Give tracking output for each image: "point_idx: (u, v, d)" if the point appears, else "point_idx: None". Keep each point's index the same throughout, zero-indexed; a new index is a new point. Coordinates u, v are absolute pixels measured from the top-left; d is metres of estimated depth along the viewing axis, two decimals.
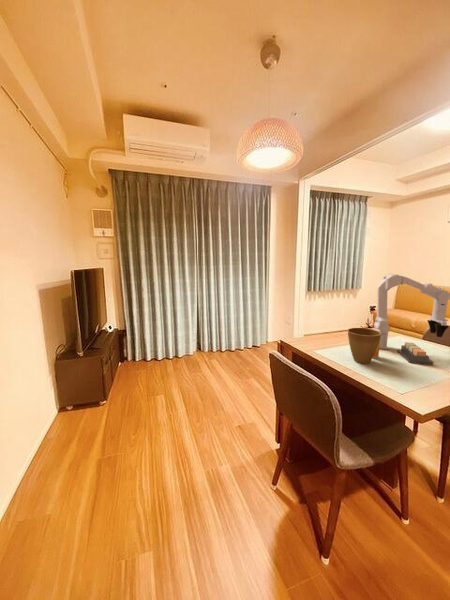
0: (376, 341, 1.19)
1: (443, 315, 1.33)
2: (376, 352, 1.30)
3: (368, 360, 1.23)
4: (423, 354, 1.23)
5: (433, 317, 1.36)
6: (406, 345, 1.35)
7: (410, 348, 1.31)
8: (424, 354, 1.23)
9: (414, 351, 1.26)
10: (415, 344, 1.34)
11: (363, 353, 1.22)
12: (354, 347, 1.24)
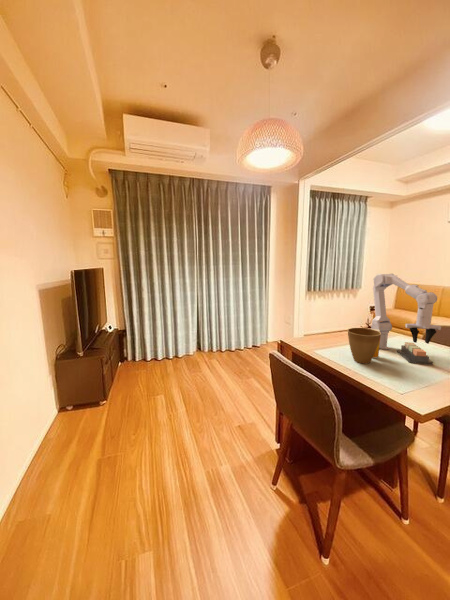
0: (376, 341, 1.19)
1: (418, 320, 1.22)
2: (376, 352, 1.30)
3: (368, 360, 1.23)
4: (423, 354, 1.23)
5: None
6: (406, 345, 1.35)
7: (410, 348, 1.31)
8: (424, 354, 1.23)
9: (414, 351, 1.26)
10: (415, 344, 1.34)
11: (363, 353, 1.22)
12: (354, 347, 1.24)
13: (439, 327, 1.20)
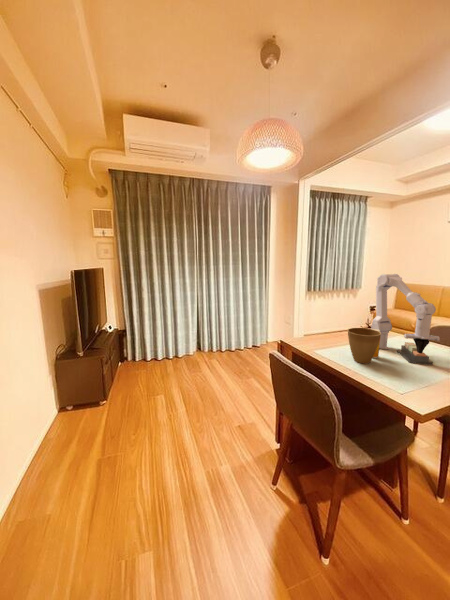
0: (376, 341, 1.19)
1: (417, 330, 1.23)
2: (376, 352, 1.30)
3: (368, 360, 1.23)
4: None
5: None
6: (406, 345, 1.35)
7: (410, 348, 1.31)
8: None
9: (414, 353, 1.26)
10: (415, 344, 1.34)
11: (363, 353, 1.22)
12: (354, 347, 1.24)
13: (437, 338, 1.21)
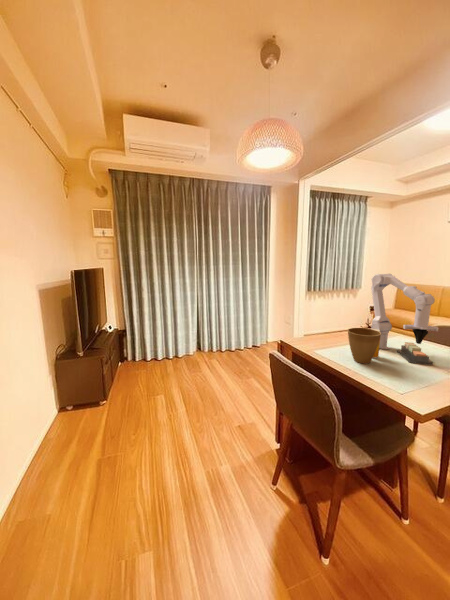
0: (376, 341, 1.19)
1: (416, 321, 1.24)
2: (376, 352, 1.30)
3: (368, 360, 1.23)
4: None
5: None
6: (406, 345, 1.35)
7: (410, 348, 1.31)
8: None
9: (414, 353, 1.26)
10: (415, 344, 1.34)
11: (363, 353, 1.22)
12: (354, 347, 1.24)
13: (436, 328, 1.22)
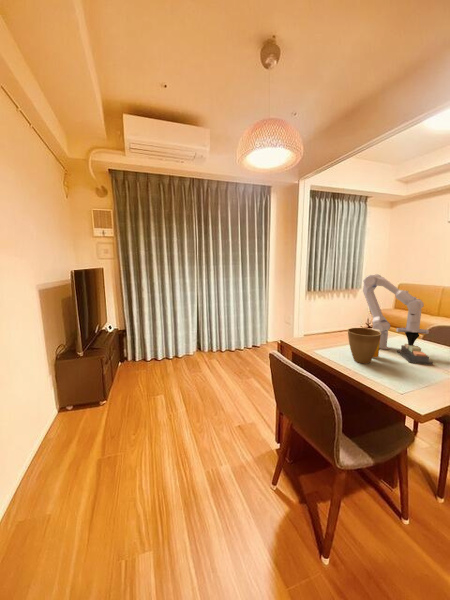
0: (376, 341, 1.19)
1: (408, 324, 1.33)
2: (376, 352, 1.30)
3: (368, 360, 1.23)
4: None
5: None
6: (406, 347, 1.35)
7: (410, 348, 1.31)
8: None
9: (414, 353, 1.26)
10: None
11: (363, 353, 1.22)
12: (354, 347, 1.24)
13: (427, 331, 1.31)
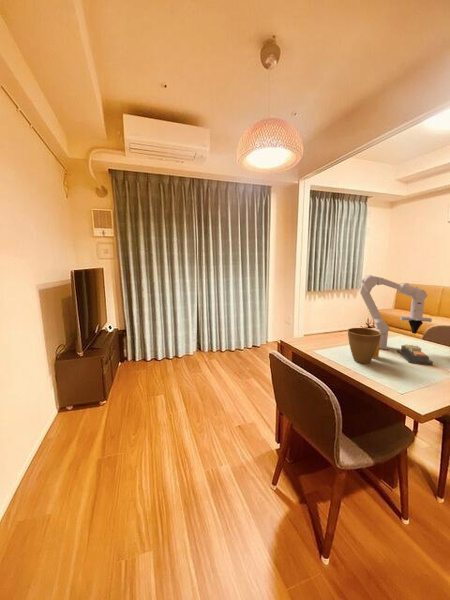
0: (376, 341, 1.19)
1: (411, 313, 1.38)
2: (376, 352, 1.30)
3: (368, 360, 1.23)
4: None
5: None
6: (406, 347, 1.35)
7: (410, 348, 1.31)
8: None
9: (414, 353, 1.26)
10: None
11: (363, 353, 1.22)
12: (354, 347, 1.24)
13: (430, 319, 1.36)
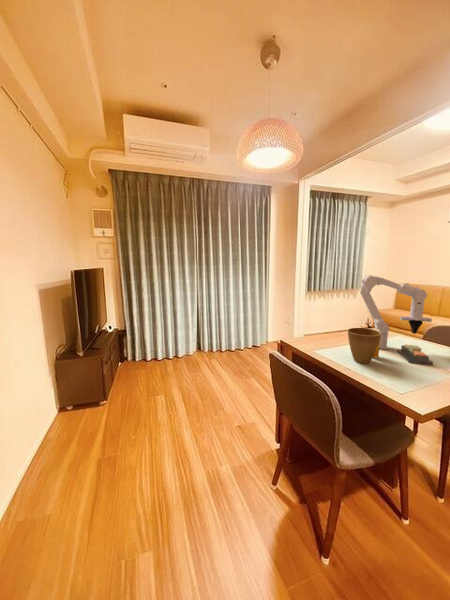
0: (376, 341, 1.19)
1: (411, 313, 1.38)
2: (376, 352, 1.30)
3: (368, 360, 1.23)
4: None
5: None
6: (406, 347, 1.35)
7: (410, 348, 1.31)
8: None
9: (414, 353, 1.26)
10: None
11: (363, 353, 1.22)
12: (354, 347, 1.24)
13: (430, 319, 1.36)
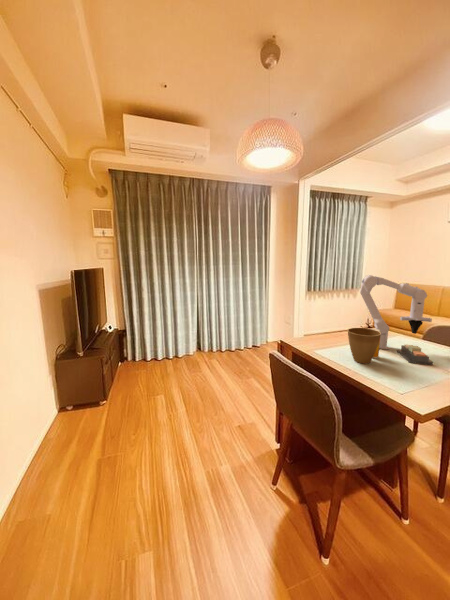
0: (376, 341, 1.19)
1: (411, 313, 1.38)
2: (376, 352, 1.30)
3: (368, 360, 1.23)
4: None
5: None
6: (406, 347, 1.35)
7: (410, 348, 1.31)
8: None
9: (414, 353, 1.26)
10: None
11: (363, 353, 1.22)
12: (354, 347, 1.24)
13: (430, 319, 1.36)
